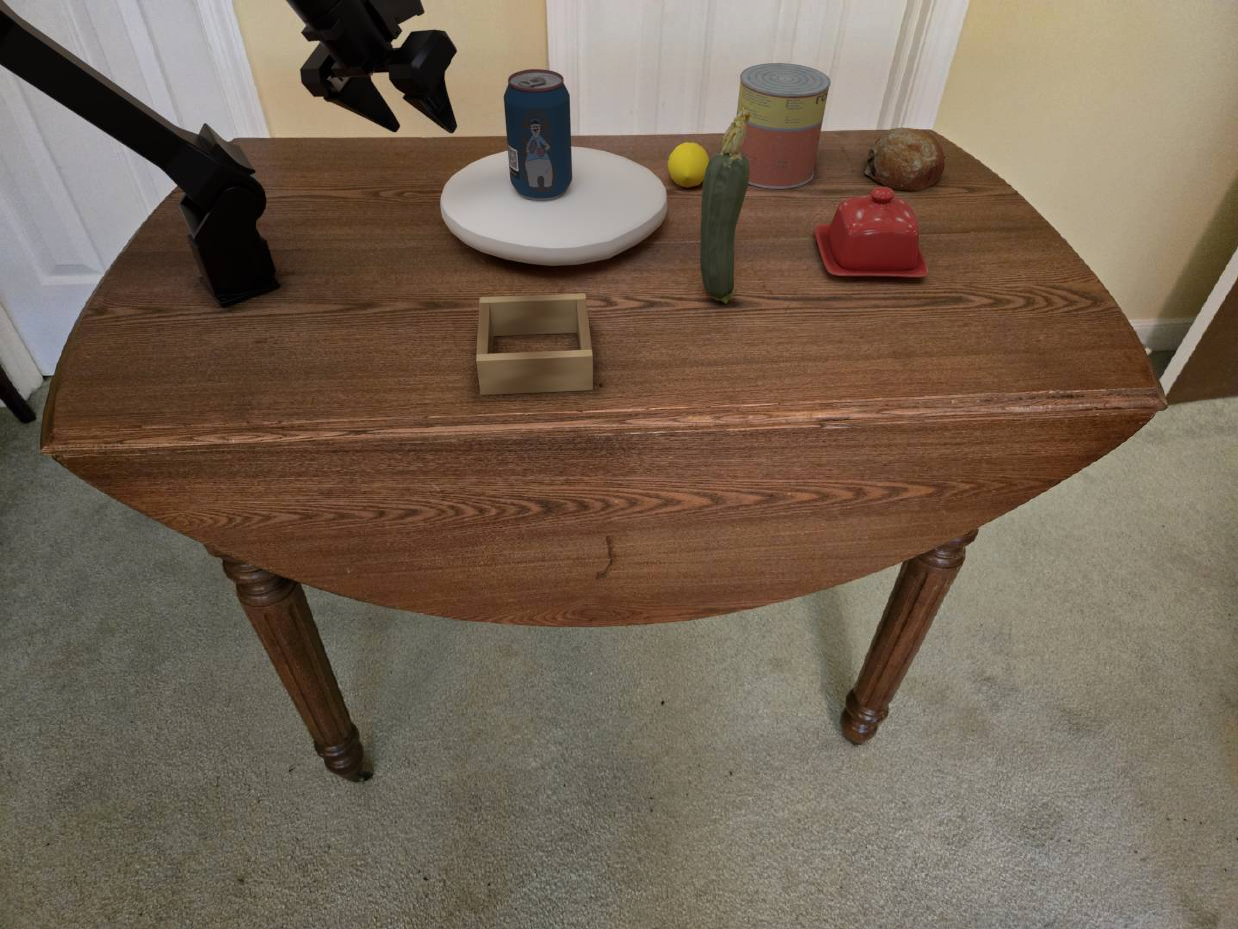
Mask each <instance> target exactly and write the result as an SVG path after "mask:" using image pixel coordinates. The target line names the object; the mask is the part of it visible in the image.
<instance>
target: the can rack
mask: <svg viewBox="0 0 1238 929" xmlns="http://www.w3.org/2000/svg"><path fill="white" fill-rule="evenodd" d="M587 301H588V300H587V294H586V293H584V292H581V293H559V294H558V293H557V294H531V295H528V294H527V295H503V296H500V295H499V296H479V304H478V319H477V321H478V322H477V334H476V335H477V338H476V354H475V356H476V358H475V362H476V363H475V364H476V370H477V379H478V386H479V393H480V396H497V395H517V394H519V395H520V394H540V393H542V394H543V393H560V392H561V393H562V392H564V393H565V392H583V391H584V392H585V391H593V390H594V357H593V356H594V353H593V345H592V337H591V328H590V327H591V326H590V319H589V312H588V304H587V303H588V302H587ZM555 334H557V335H559V334H576V337H577V338H576V339H577V348H578V349H570V350H569V349H568V350H549V351H548V350H547V351H545V350H544V351H525V352H524V351H522V352H501V353H500V352H499V353H494V337H508V336H510V337H511V336H530V335H532V336H533V335H555Z"/></svg>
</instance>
